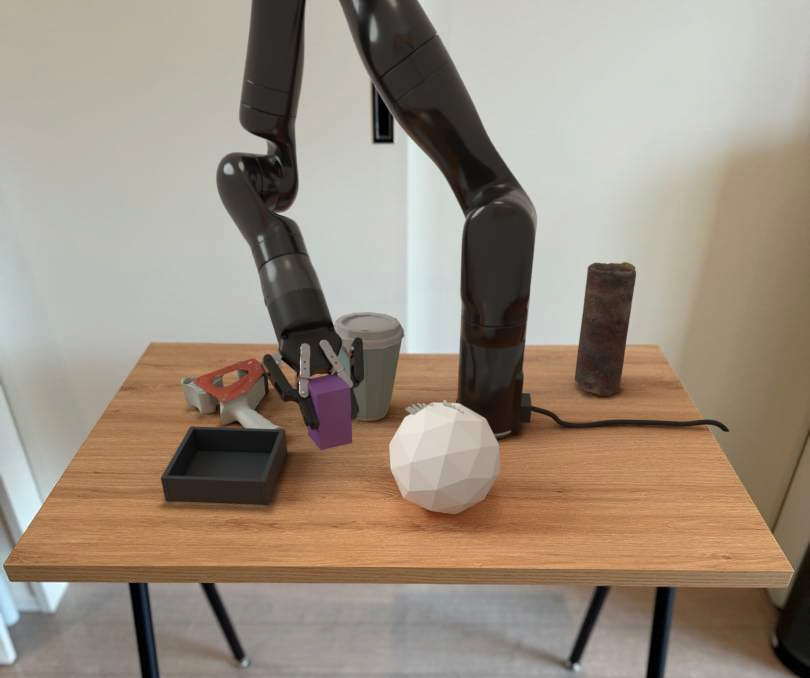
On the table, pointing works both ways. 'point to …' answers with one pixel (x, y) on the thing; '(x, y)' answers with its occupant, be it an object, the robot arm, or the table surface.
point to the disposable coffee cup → (373, 359)
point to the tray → (225, 466)
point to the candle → (604, 327)
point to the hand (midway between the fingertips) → (334, 423)
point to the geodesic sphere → (444, 457)
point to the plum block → (331, 411)
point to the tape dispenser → (231, 394)
